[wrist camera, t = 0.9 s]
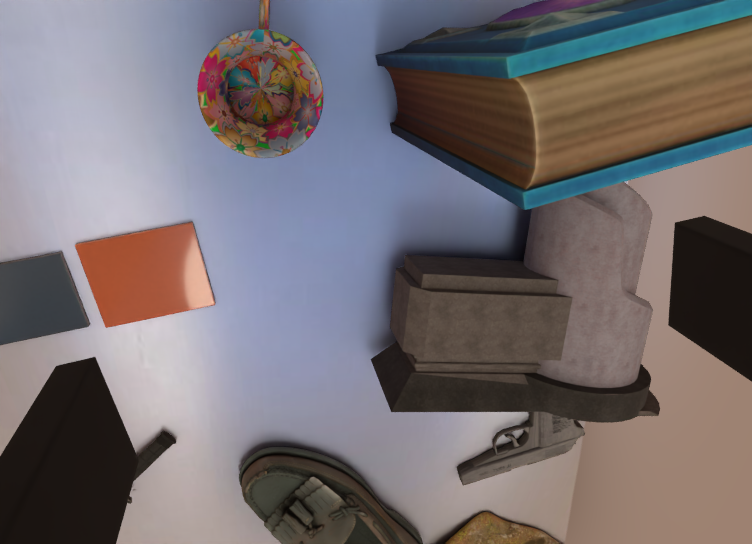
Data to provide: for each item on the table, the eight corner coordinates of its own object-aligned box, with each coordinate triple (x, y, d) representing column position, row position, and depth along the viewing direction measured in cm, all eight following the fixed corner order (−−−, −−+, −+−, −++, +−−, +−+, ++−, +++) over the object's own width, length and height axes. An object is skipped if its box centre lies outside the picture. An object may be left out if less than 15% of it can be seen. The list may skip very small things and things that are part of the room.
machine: (602, 356, 70) (643, 159, 64) (692, 422, 55) (757, 171, 49) (367, 351, 65) (388, 135, 59) (395, 423, 49) (427, 141, 43)
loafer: (281, 419, 64) (287, 475, 56) (442, 525, 77) (467, 584, 68) (220, 479, 66) (217, 543, 57) (388, 574, 78) (406, 638, 70)
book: (608, -20, 54) (971, -97, 27) (613, 73, 58) (938, 91, 30) (371, 39, 52) (499, 22, 24) (391, 132, 56) (522, 210, 28)
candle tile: (-50, 272, 52) (-53, 274, 52) (62, 251, 53) (59, 253, 53) (-15, 346, 55) (-18, 349, 55) (90, 324, 56) (88, 327, 56)
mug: (307, 142, 54) (319, 162, 45) (208, 134, 52) (197, 153, 42) (316, 7, 50) (330, -4, 40) (208, -7, 48) (196, -22, 38)
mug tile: (76, 243, 53) (74, 245, 53) (192, 221, 55) (192, 222, 54) (107, 325, 57) (105, 328, 56) (215, 302, 58) (215, 305, 58)
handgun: (450, 417, 67) (464, 491, 72) (584, 376, 69) (589, 451, 74) (444, 406, 69) (458, 479, 74) (574, 367, 71) (580, 440, 76)
